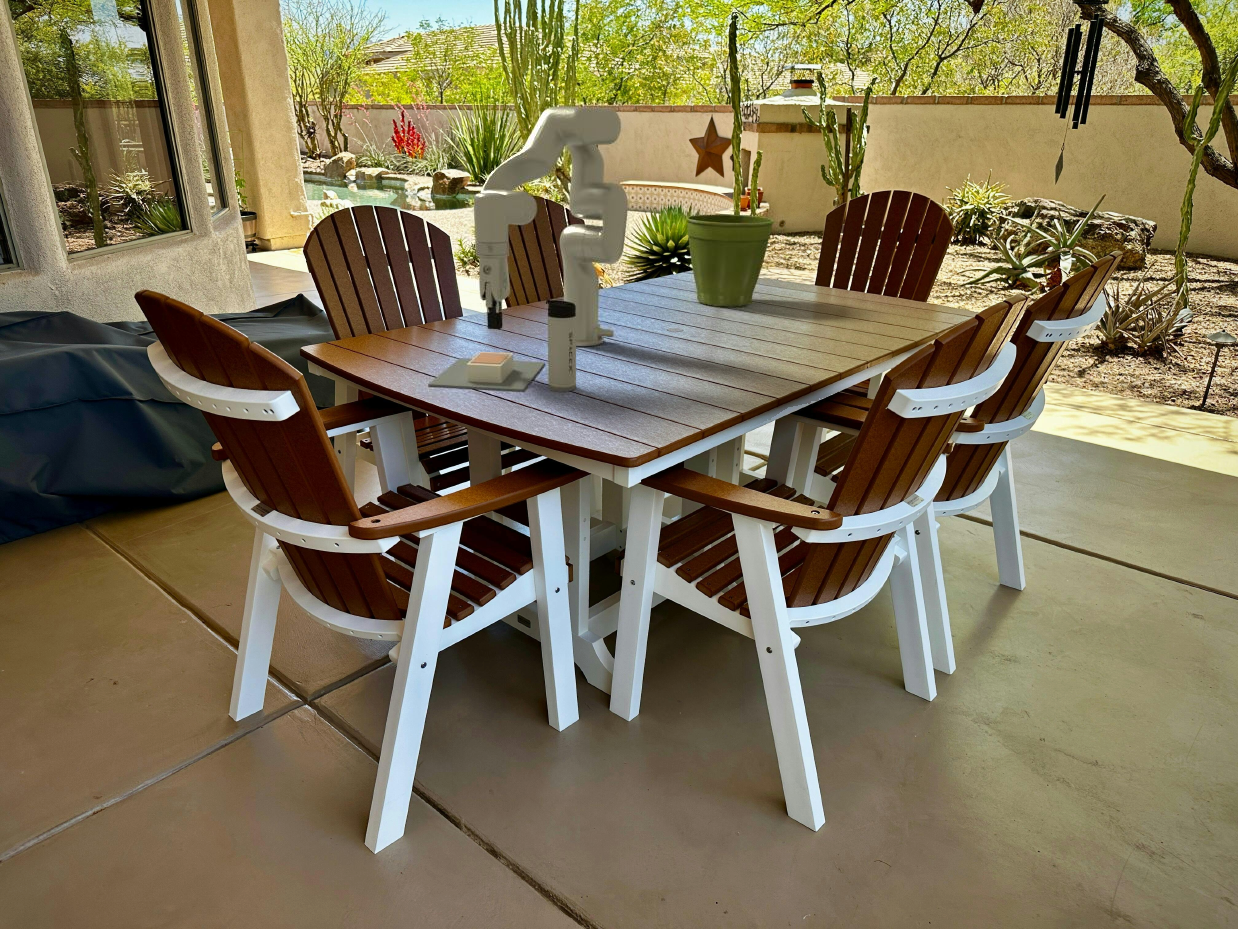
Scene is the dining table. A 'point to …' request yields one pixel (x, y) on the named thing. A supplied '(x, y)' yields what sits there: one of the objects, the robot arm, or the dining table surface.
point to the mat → (513, 382)
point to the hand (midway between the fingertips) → (495, 328)
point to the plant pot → (727, 256)
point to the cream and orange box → (490, 367)
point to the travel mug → (561, 345)
